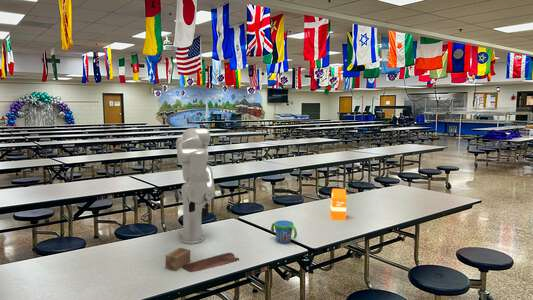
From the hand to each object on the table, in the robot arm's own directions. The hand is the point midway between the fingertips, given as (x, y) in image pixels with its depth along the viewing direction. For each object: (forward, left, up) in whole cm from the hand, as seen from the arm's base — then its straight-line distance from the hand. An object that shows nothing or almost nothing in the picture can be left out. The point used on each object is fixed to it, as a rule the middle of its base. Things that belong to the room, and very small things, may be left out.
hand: (198, 213), depth 167 cm
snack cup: (+28, +40, -22) cm, 53 cm away
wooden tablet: (+7, 0, -23) cm, 24 cm away
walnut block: (-5, -9, -22) cm, 25 cm away
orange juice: (+46, +94, -22) cm, 107 cm away
